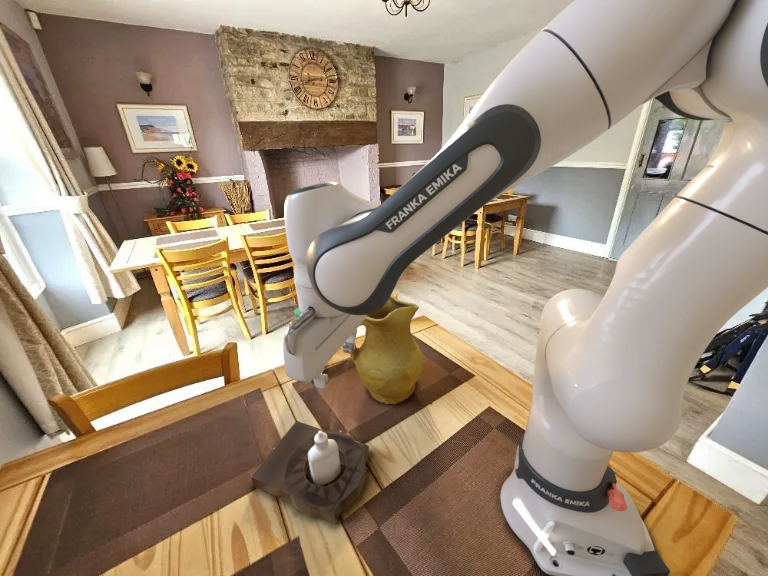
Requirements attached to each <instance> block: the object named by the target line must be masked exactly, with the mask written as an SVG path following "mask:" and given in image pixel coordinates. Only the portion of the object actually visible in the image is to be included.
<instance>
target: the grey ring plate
mask: <svg viewBox="0 0 768 576" xmlns="http://www.w3.org/2000/svg"><path fill="white" fill-rule="evenodd" d="M320 430H321V431H322V432H324V433H326V434H327V436H328V439H333V440H335V442H336V443H337V445H338V451H339V458H340V461H342V462H343V463H344V465H345V470H344V472H343V474H342V475H341V476H340V477H339V478H338V479H337V480H336V481H335V482H333V483H330V484H328V485H322V486H316V485H315V484H314V483H311V482H310V481H309V479H308V474H309V471H310V466H309V461H308V452H309V451H310V449H311V448H312V447H313V446H314V445H315V441H314V438H315V436H316V434H318V431H320ZM369 458H370V446H369V445H368V444H366V443H363V442H360V441H357V440H356V439H354V437H352V436H351V435H347V434H344V433H341V432H337V431H336V432H335V431H333V432H330V431H328V430H325V429H322V428H319V427H316V426H313V425H310V424H307V423H305V422H301V421H298V420H296V421H294V423H293V424H292V425H291V426H290V427H289V429H288V431H287V432H286V433H285V434H284V435H283V436H282V438H281V439H280V440H279V442H278V443H277V444H276V445H275V446H274V448H273V449H272V450H271V451H270V453H269V454H267V456H266V457H265V458H264V460H263V461H262V462H261V463H260V465H259V466H258V468H257V469H256V470H255V471H254V472H253V474H252V475H251V476H250V478H251V481H252V484H253V487H254V488H256V489H258V490H261V491H262V492H264V493H267V494H269V495H272V496H273V497H275V498H278V499H280V500H282V501H284V502H286V503H289V504H290V505H292V506H293V507H294V508H295V510H296V511H297V512H298V513H300V514H303V515H305V516H306V517H307V516H308V517H309V518H312V519H313V518H321V519H324V520H325V521H328V522H329V523H332V524H335V525H337V523H338V521H339V519H340V517H341V515H342V514H343V513H342V512H344V511H346V510H347V509H348V508H349V507H350V506H351V505H352V504H353V503H354V502H355V501H356V500H357V499H358V498H359V497H360V495H361V493H362V491H363V488H364V486H365V484H366V476H367V462H368V459H369Z"/></svg>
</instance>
